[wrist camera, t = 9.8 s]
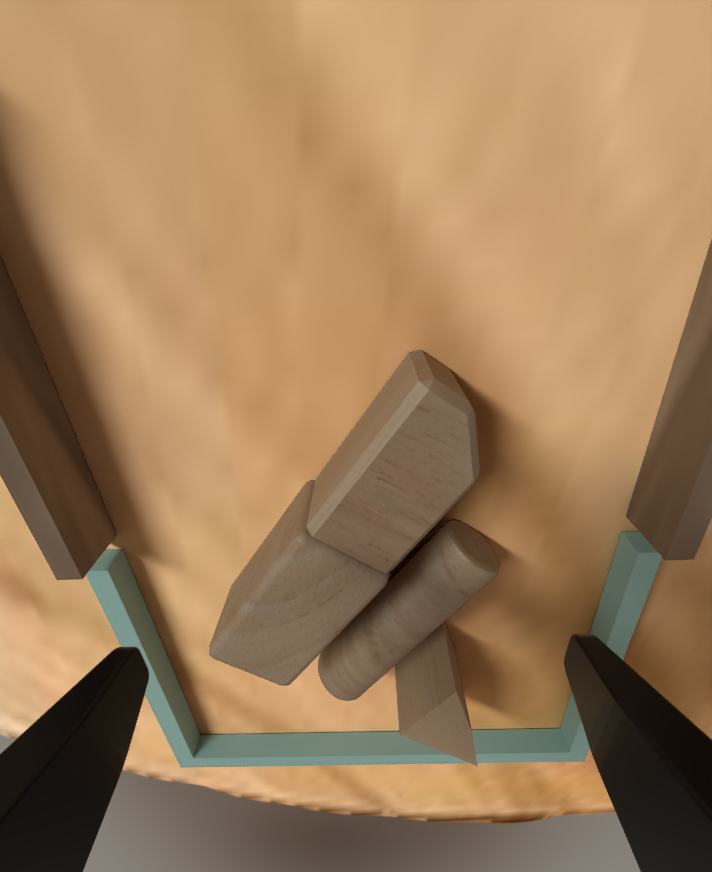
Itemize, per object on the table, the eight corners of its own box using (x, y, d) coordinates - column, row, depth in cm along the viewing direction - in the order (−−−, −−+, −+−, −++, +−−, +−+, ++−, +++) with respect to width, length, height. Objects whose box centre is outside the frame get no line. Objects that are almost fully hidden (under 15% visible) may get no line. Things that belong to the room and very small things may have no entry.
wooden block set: (188, 688, 19) (425, 384, 12) (224, 591, 24) (407, 336, 17) (468, 793, 23) (768, 610, 16) (449, 691, 28) (673, 518, 21)
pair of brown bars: (850, -66, 11) (1001, -154, 9) (651, 515, 21) (693, 559, 18) (-139, 18, 12) (-277, -37, 10) (94, 535, 22) (57, 580, 19)
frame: (645, 531, 21) (664, 551, 20) (574, 737, 30) (584, 761, 29) (101, 550, 22) (84, 571, 21) (188, 743, 31) (180, 767, 30)
